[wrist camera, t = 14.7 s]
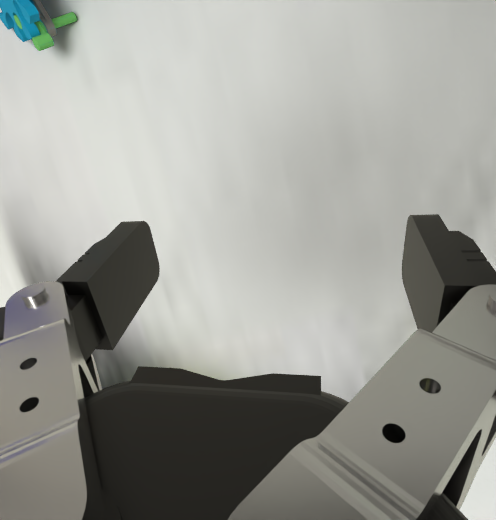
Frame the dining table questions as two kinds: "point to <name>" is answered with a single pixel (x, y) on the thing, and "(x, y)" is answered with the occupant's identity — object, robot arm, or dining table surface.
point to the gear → (32, 21)
